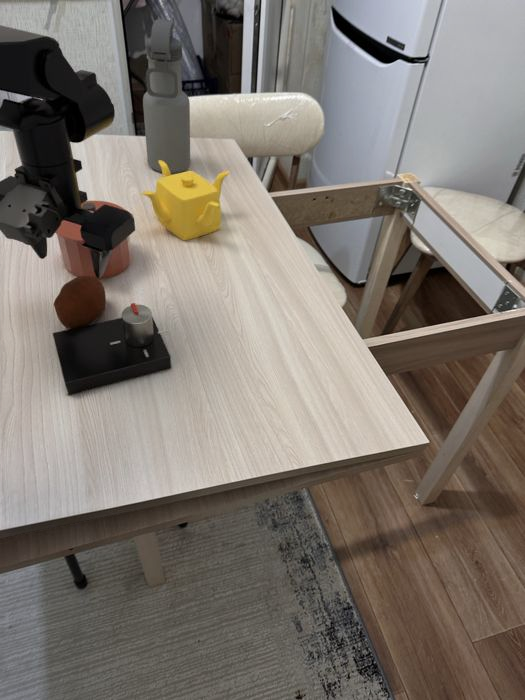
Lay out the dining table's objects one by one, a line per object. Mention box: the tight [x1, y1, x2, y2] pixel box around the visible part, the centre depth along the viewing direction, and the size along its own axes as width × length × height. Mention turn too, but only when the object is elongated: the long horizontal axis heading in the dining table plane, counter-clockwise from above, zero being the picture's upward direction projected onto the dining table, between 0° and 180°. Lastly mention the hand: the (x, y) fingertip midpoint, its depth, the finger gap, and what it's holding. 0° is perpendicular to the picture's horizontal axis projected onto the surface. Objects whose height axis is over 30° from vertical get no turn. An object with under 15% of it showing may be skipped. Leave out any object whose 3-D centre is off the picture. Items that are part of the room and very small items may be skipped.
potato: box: [53, 276, 107, 329], centre depth 72 cm, size 7×9×6 cm
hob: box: [52, 316, 172, 396], centre depth 69 cm, size 15×10×3 cm, turn 115°
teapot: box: [140, 160, 230, 241], centre depth 93 cm, size 15×14×10 cm
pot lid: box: [54, 200, 126, 243], centre depth 79 cm, size 12×12×4 cm
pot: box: [55, 233, 133, 280], centre depth 82 cm, size 11×17×7 cm
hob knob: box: [121, 302, 154, 347], centre depth 67 cm, size 4×4×5 cm
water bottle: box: [142, 18, 191, 174], centre depth 103 cm, size 10×10×28 cm
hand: (71, 266), depth 67 cm, fingers open, 9 cm apart
